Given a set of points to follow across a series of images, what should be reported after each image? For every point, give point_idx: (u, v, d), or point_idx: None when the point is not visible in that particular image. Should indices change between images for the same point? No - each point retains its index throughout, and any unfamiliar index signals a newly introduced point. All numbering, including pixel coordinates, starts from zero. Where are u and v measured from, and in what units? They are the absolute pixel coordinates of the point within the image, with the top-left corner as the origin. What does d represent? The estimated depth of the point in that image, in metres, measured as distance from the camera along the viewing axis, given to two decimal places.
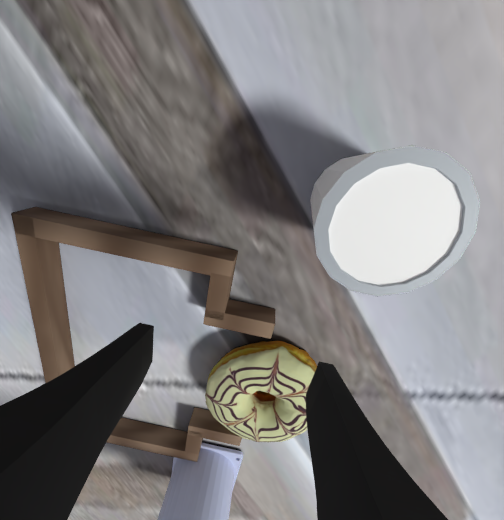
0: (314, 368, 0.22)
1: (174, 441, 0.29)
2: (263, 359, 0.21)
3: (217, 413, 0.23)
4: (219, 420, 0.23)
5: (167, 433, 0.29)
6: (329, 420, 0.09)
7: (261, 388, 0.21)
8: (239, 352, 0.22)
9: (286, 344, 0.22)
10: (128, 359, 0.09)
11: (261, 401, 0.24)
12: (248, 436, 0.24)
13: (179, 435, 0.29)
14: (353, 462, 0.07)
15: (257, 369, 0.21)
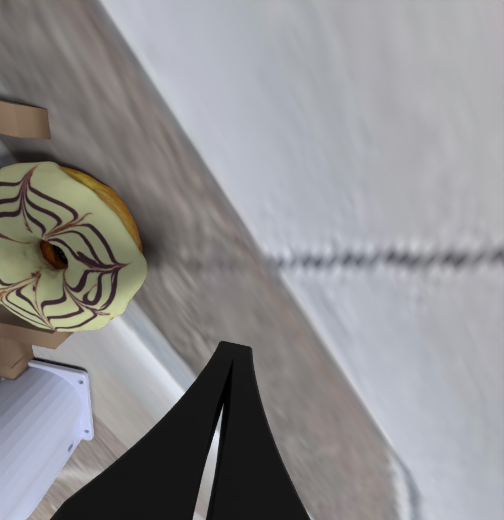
0: (107, 199, 0.14)
1: None
2: (10, 171, 0.13)
3: None
4: None
5: None
6: (228, 398, 0.09)
7: (15, 222, 0.14)
8: None
9: (72, 169, 0.15)
10: (226, 380, 0.09)
11: (56, 269, 0.17)
12: (34, 318, 0.16)
13: None
14: (225, 434, 0.07)
15: None
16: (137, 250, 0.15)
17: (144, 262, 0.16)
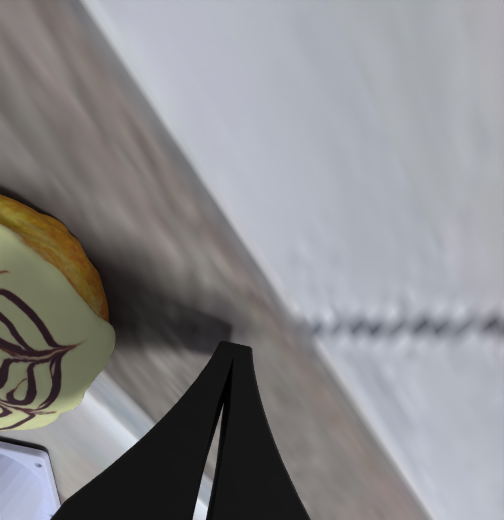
0: (42, 243, 0.09)
1: None
2: None
3: None
4: None
5: None
6: (228, 398, 0.09)
7: None
8: None
9: None
10: (226, 380, 0.09)
11: None
12: None
13: None
14: (225, 434, 0.07)
15: None
16: (95, 319, 0.10)
17: (108, 334, 0.10)
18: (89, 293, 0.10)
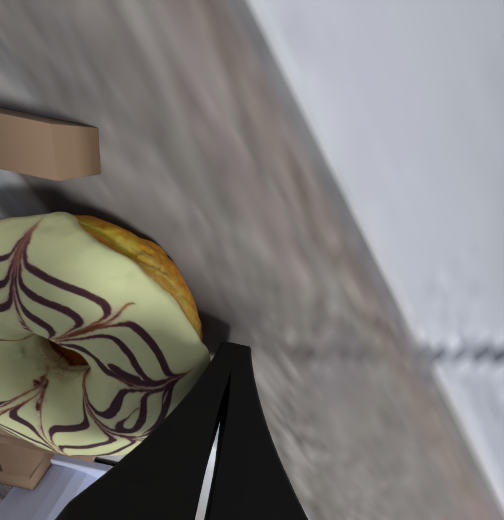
0: (156, 271, 0.09)
1: None
2: None
3: None
4: None
5: None
6: (226, 398, 0.09)
7: (4, 319, 0.08)
8: None
9: (96, 219, 0.09)
10: (228, 381, 0.09)
11: (72, 365, 0.11)
12: (38, 444, 0.10)
13: None
14: (223, 434, 0.07)
15: None
16: (201, 345, 0.10)
17: (208, 358, 0.10)
18: (194, 318, 0.10)
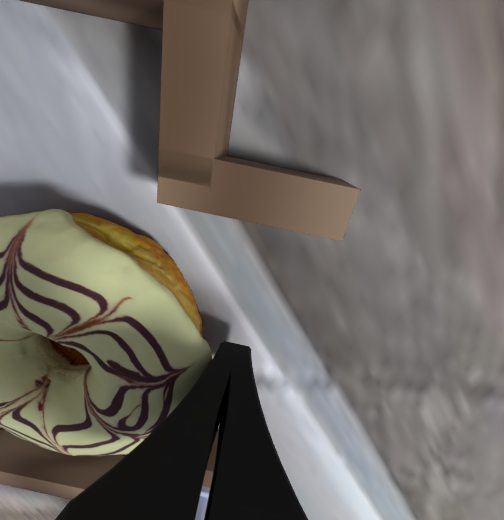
0: (153, 266, 0.09)
1: None
2: None
3: None
4: None
5: None
6: (226, 398, 0.09)
7: (2, 318, 0.08)
8: None
9: (91, 216, 0.09)
10: (228, 381, 0.09)
11: (73, 364, 0.11)
12: (43, 445, 0.10)
13: None
14: (223, 434, 0.07)
15: None
16: (201, 340, 0.09)
17: (209, 353, 0.10)
18: (193, 313, 0.09)
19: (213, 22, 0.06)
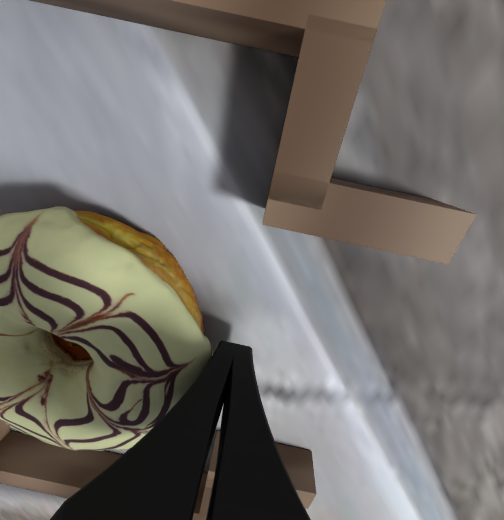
0: (155, 263, 0.09)
1: None
2: None
3: None
4: None
5: None
6: (228, 398, 0.09)
7: (7, 313, 0.08)
8: None
9: (95, 214, 0.09)
10: (226, 380, 0.09)
11: (75, 360, 0.11)
12: (45, 439, 0.11)
13: None
14: (225, 434, 0.07)
15: None
16: (201, 336, 0.10)
17: (210, 350, 0.10)
18: (194, 310, 0.10)
19: (353, 50, 0.06)
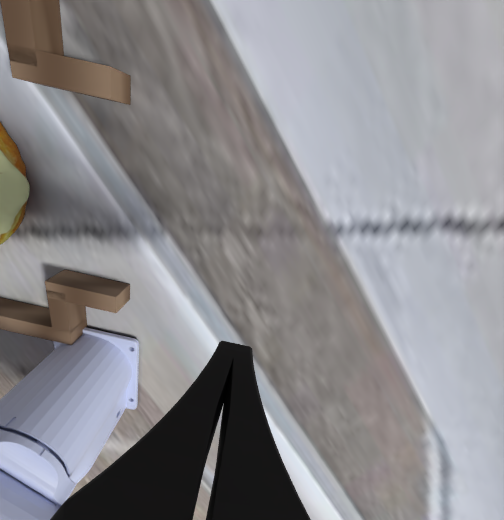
0: None
1: (42, 318, 0.22)
2: None
3: None
4: None
5: (36, 311, 0.23)
6: (228, 398, 0.09)
7: None
8: None
9: None
10: (226, 380, 0.09)
11: None
12: None
13: None
14: (225, 434, 0.07)
15: None
16: (8, 163, 0.16)
17: (19, 176, 0.17)
18: (4, 147, 0.16)
19: None
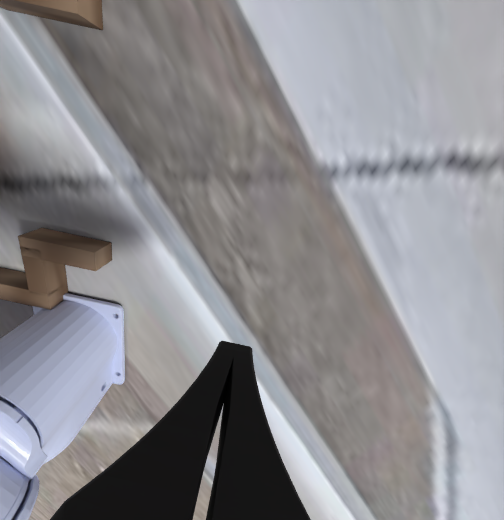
0: None
1: (19, 281, 0.21)
2: None
3: None
4: None
5: (14, 275, 0.21)
6: (228, 398, 0.09)
7: None
8: None
9: None
10: (226, 380, 0.09)
11: None
12: None
13: None
14: (225, 434, 0.07)
15: None
16: None
17: None
18: None
19: None
